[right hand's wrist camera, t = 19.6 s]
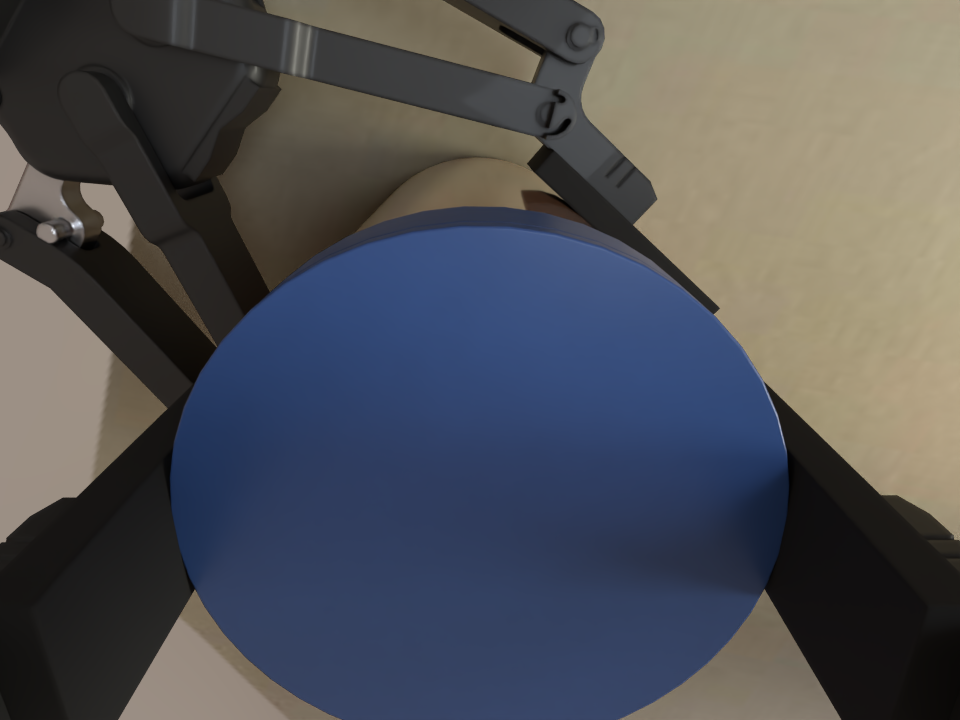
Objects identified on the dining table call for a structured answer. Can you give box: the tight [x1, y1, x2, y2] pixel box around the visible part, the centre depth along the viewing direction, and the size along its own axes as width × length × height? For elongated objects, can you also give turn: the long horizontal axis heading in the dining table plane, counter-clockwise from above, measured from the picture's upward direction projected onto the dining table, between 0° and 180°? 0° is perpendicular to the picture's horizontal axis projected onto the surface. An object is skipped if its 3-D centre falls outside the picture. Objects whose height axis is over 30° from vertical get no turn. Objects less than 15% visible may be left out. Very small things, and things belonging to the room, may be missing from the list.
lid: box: [170, 206, 789, 720], centre depth 11 cm, size 10×10×2 cm
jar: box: [355, 157, 594, 233], centre depth 18 cm, size 9×9×15 cm
